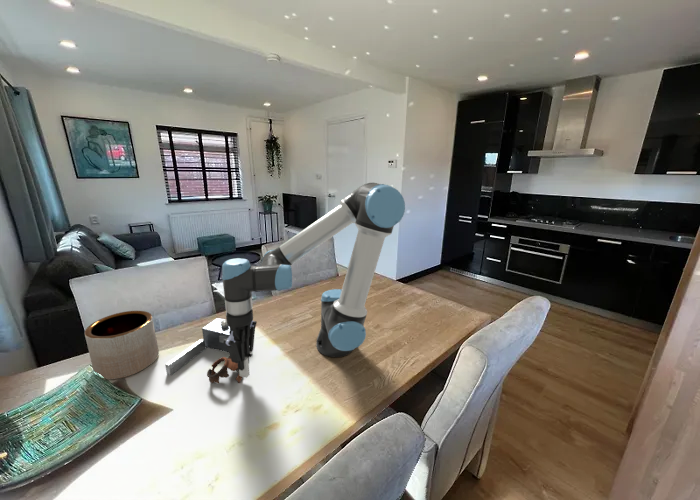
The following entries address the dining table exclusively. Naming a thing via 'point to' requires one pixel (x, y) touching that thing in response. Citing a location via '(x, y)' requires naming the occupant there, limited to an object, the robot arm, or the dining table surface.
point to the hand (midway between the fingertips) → (244, 375)
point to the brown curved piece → (223, 370)
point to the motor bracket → (202, 344)
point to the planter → (122, 344)
